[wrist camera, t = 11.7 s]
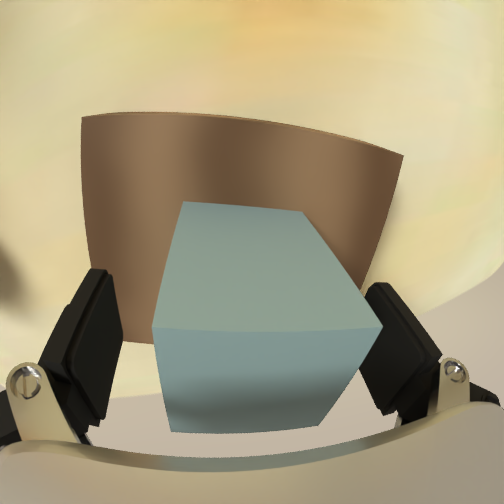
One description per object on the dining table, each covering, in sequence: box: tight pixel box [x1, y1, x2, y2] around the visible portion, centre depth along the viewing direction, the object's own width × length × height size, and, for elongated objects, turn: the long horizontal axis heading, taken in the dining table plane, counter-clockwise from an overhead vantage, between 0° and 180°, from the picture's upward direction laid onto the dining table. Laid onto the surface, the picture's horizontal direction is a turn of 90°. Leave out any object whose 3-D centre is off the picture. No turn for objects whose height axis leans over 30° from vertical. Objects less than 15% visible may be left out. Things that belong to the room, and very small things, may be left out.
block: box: [152, 201, 383, 434], centre depth 10 cm, size 5×5×7 cm
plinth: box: [81, 112, 403, 344], centre depth 14 cm, size 14×12×4 cm
